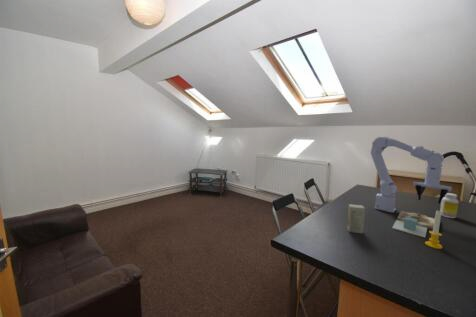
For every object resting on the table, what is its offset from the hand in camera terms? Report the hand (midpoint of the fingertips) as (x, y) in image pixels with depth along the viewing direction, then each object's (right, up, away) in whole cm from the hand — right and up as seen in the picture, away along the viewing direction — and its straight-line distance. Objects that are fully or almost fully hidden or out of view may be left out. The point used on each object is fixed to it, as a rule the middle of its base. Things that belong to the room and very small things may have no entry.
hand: (429, 201), depth 109 cm
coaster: (-18, -12, -9) cm, 23 cm away
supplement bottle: (+17, -10, +7) cm, 21 cm away
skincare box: (-46, -12, -12) cm, 49 cm away
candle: (-20, -14, -23) cm, 34 cm away
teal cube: (-18, -11, -9) cm, 23 cm away
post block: (-6, -10, 0) cm, 12 cm away
